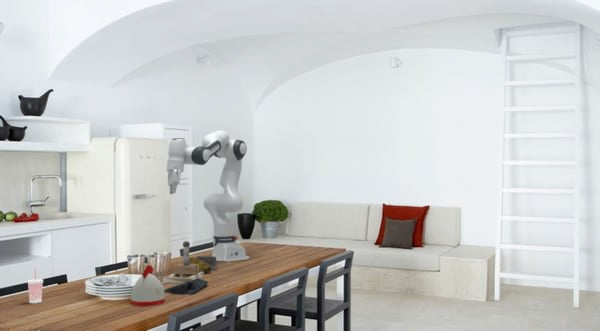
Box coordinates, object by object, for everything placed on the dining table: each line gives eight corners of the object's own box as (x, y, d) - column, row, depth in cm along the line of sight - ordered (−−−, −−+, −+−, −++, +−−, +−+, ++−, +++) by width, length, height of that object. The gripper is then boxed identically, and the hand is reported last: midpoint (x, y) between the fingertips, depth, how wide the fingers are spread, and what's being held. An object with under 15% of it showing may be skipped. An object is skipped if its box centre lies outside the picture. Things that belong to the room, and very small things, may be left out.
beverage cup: (38, 299, 261) (38, 266, 261) (46, 301, 257) (46, 268, 257) (24, 302, 257) (24, 268, 256) (32, 304, 253) (31, 270, 253)
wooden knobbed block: (179, 275, 312) (179, 239, 311) (200, 276, 309) (199, 240, 309) (173, 277, 305) (173, 241, 304) (194, 278, 302) (194, 242, 302)
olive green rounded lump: (202, 275, 315) (202, 259, 315) (183, 273, 322) (183, 257, 322) (213, 272, 322) (212, 257, 322) (194, 270, 329) (194, 255, 329)
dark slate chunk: (213, 286, 290) (213, 276, 290) (191, 296, 269) (191, 285, 269) (184, 284, 295) (184, 274, 295) (160, 294, 274) (160, 283, 274)
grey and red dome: (170, 299, 262) (170, 263, 262) (155, 306, 248) (155, 269, 248) (140, 297, 265) (140, 262, 265) (124, 305, 252) (124, 268, 251)
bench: (195, 268, 335) (195, 255, 334) (219, 269, 331) (219, 256, 331) (163, 282, 297) (163, 267, 297) (190, 283, 294) (190, 269, 294)
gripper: (184, 166, 318) (181, 192, 316) (178, 170, 337) (175, 195, 335) (172, 164, 316) (169, 191, 314) (167, 168, 335) (164, 194, 333)
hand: (172, 193), depth 325 cm, fingers open, 8 cm apart
